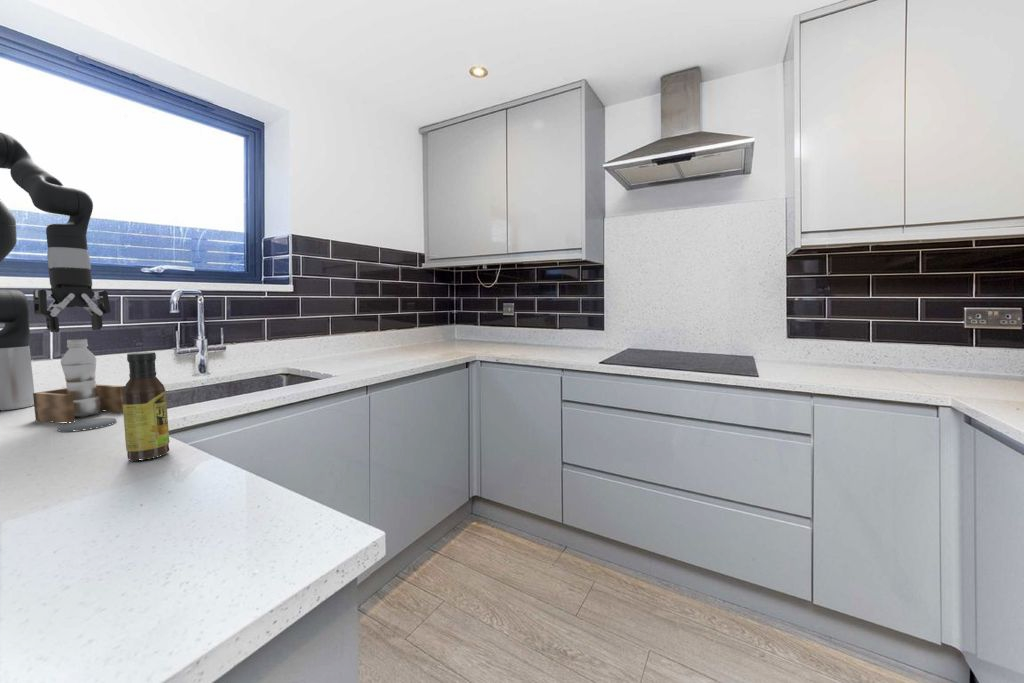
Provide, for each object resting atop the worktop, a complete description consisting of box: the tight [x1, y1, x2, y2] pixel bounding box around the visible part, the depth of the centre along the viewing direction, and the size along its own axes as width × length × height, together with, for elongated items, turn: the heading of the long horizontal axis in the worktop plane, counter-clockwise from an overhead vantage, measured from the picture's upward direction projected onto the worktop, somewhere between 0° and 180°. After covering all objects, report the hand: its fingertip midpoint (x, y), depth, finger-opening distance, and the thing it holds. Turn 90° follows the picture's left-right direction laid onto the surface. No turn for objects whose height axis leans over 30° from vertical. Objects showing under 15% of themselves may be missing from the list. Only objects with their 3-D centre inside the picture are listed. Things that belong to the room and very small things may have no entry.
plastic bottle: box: [60, 338, 101, 418], centre depth 110 cm, size 6×7×20 cm
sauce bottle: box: [123, 351, 170, 461], centre depth 80 cm, size 6×6×20 cm
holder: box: [33, 383, 125, 423], centre depth 111 cm, size 12×12×7 cm
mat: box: [57, 417, 117, 432], centre depth 102 cm, size 10×10×1 cm
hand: (76, 331), depth 109 cm, fingers open, 8 cm apart
